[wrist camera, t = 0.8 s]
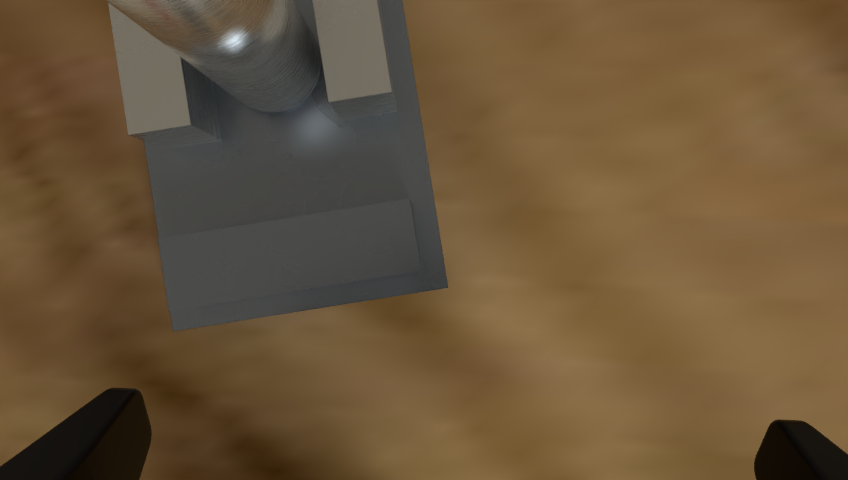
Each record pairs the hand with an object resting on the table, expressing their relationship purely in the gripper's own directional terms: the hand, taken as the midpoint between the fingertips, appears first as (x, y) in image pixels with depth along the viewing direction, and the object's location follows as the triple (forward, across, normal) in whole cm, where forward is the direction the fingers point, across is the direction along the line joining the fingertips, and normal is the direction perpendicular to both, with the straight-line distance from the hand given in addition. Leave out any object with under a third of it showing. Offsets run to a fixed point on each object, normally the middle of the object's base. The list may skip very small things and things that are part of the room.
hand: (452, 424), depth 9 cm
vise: (+17, +6, +3) cm, 18 cm away
